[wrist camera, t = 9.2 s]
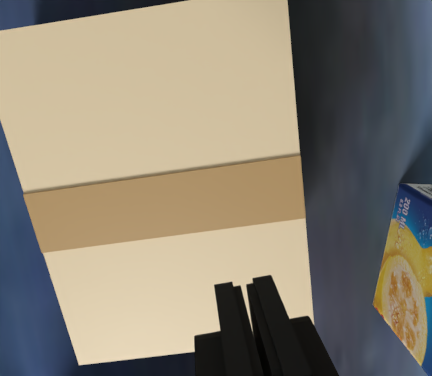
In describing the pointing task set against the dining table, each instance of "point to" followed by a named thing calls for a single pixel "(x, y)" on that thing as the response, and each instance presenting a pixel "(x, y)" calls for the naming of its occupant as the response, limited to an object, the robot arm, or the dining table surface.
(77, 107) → the lid
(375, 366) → the dining table surface
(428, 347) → the beverage box
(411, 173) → the dining table surface
